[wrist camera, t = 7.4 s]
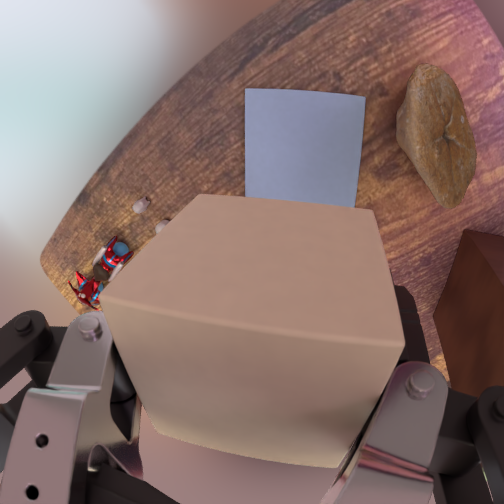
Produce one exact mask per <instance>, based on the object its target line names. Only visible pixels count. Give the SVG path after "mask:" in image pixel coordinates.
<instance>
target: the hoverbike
mask: <svg viewBox="0 0 504 504" xmlns="http://www.w3.org/2000/svg"><path fill="white" fill-rule="evenodd" d="M116 241H117V236H114V237H113V238H112V239H111V240H110V241H109V242H108V243H107V245H104V246H103V247H102V248H101V249H100V251H99V252H98V254H97V255H96V257H95V259H94V261H93V264H92V266H93V271H94V277H93V278H92V279H91V280H90V281H89V280H87V279H86V278H85V277H84V276H83V275H82V274H80V273H79V272H78V271H76V276H77V281H78V286H79V291H78V290H77V289H75V288H73V286H72V285H71V283H70V281H68V283H69V285H70V286H71V288H72V289H73V291H74V292H75V294H76V298H77V299H78V301H79V303H81V304H83V305H88V306H90V307H92V308H93V309H95V310H98V309H97V308H95V307H93V306H94V305H99V304H100V302H99V299H98V296H99V294H100V293H101V292H102V291H103V283H102V281H105V280H108V281H109V282H110V281H112V280H113V279H114V278H115V276H116V275H117V274H118V273H119V271H120V270H121V268H122V267H123V265H124V264H125V263H126V262H127V261H128V260H129V259H130V258H131V257H132V256H133V254H134V252H132V251H130V252H129V249H128V247H127V245H126V244H124V243H122V242H117V243H116ZM100 260H101V263H100V264H98V262H99V261H100ZM110 271H112V272H111V274H110V276H109V272H110ZM98 311H99V310H98Z"/></svg>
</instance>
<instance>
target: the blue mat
mask: <svg viewBox="0 0 504 504" xmlns="http://www.w3.org/2000/svg"><path fill="white" fill-rule="evenodd" d="M365 101H366V97H364V96H357V95H349V94H340V93H330V92H319V91H307V90H290V89H259V88H246V89H245V197H253V198H265V199H277V200H288V201H298V202H308V203H318V204H327V205H336V206H345V207H353V208H354V207H355V200H356V193H357V185H358V177H359V168H360V159H361V150H362V140H363V128H364V116H365Z"/></svg>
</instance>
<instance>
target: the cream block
mask: <svg viewBox="0 0 504 504" xmlns="http://www.w3.org/2000/svg"><path fill="white" fill-rule="evenodd" d="M98 299H99V302H100V305H101V308H102V311H103V313H104V316H105V319H106V322H107V324H108V327H109V330H110V332H111V335H112V337H113V340H114V342H115V345H116V347H117V350H118V352H119V354H120V357H121V359H122V361H123V364H124V366H125V368H126V371H127V373H128V375H129V377H130V380H131V382H132V384H133V386H134V388H135V390H136V392H137V394H138V397H139V399H140V401H141V403H142V405H143V407H144V409H145V410H146V413H147V415H148V416H149V418H150V420H151V422H152V424H153V426H154V428H155V430H156V431H157V432H158V433H160V434H164V435H166V436H170V437H173V438H176V439H179V440H182V441H186V442H189V443H193V444H196V445H200V446H204V447H208V448H212V449H216V450H220V451H225V452H228V453H233V454H238V455H243V456H248V457H253V458H258V459H264V460H270V461H276V462H283V463H290V464H297V465H306V466H316V467H327V468H337V467H338V465H339V464H340V462H341V461H342V460H343V458H344V456H345V455H346V453H347V452H348V450H349V449H350V447H351V446H352V444H353V442H354V441H355V439H356V438H357V436H358V434H359V433H360V431H361V429H362V428H363V426H364V424H365V423H366V421H367V419H368V417H369V416H370V414H371V412H372V410H373V409H374V407H375V405H376V403H377V401H378V399H379V398H380V396H381V394H382V392H383V390H384V388H385V386H386V384H387V382H388V380H389V378H390V376H391V374H392V372H393V370H394V368H395V366H396V364H397V362H398V360H399V357H400V355H401V353H402V351H403V349H404V346H405V339H404V334H403V328H402V323H401V318H400V313H399V308H398V304H397V299H396V295H395V290H394V286H393V282H392V277H391V273H390V269H389V265H388V261H387V258H386V254H385V250H384V246H383V243H382V239H381V236H380V232H379V229H378V225H377V222H376V219H375V215H374V212H373V211H372V210H369V209H361V208H353V207H345V206H336V205H327V204H318V203H308V202H298V201H288V200H277V199H265V198H253V197H240V196H226V195H211V194H199V195H197V196H196V197H195V198H194V199H193V200H192V201H191V202H190V203H189V204H188V205H187V206H186V207H184V208H183V209H182V210H181V211H180V212H179V213H178V214H177V215H176V216H175V217H174V218H173V219H172V220H171V221H170V222H169V223H168V224H167V225H166V226H165V227H164V228H163V229H162V230H161V231H160V232H159V233H158V234H157V235H156V236H155V237H154V238H153V239H152V240H151V241H150V242H149V243H148V244H147V245H146V246H145V247H144V248H143V249H142V250H141V251H140V252H139V253H138V254H137V255H136V256H135V257H134V258H133V259H132V260H131V261H130V262H129V263H128V264H127V265H126V266H125V267H124V268H123V269H122V270H121V271H120V272H119V273H118V274H117V275H116V277H115V278H114V279H113V280H112V281H111V282H110V283H109V284H108V285H107V286H106V287H105V288H104V289H103V291H102V292H101V293H100V294H99V296H98Z"/></svg>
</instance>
